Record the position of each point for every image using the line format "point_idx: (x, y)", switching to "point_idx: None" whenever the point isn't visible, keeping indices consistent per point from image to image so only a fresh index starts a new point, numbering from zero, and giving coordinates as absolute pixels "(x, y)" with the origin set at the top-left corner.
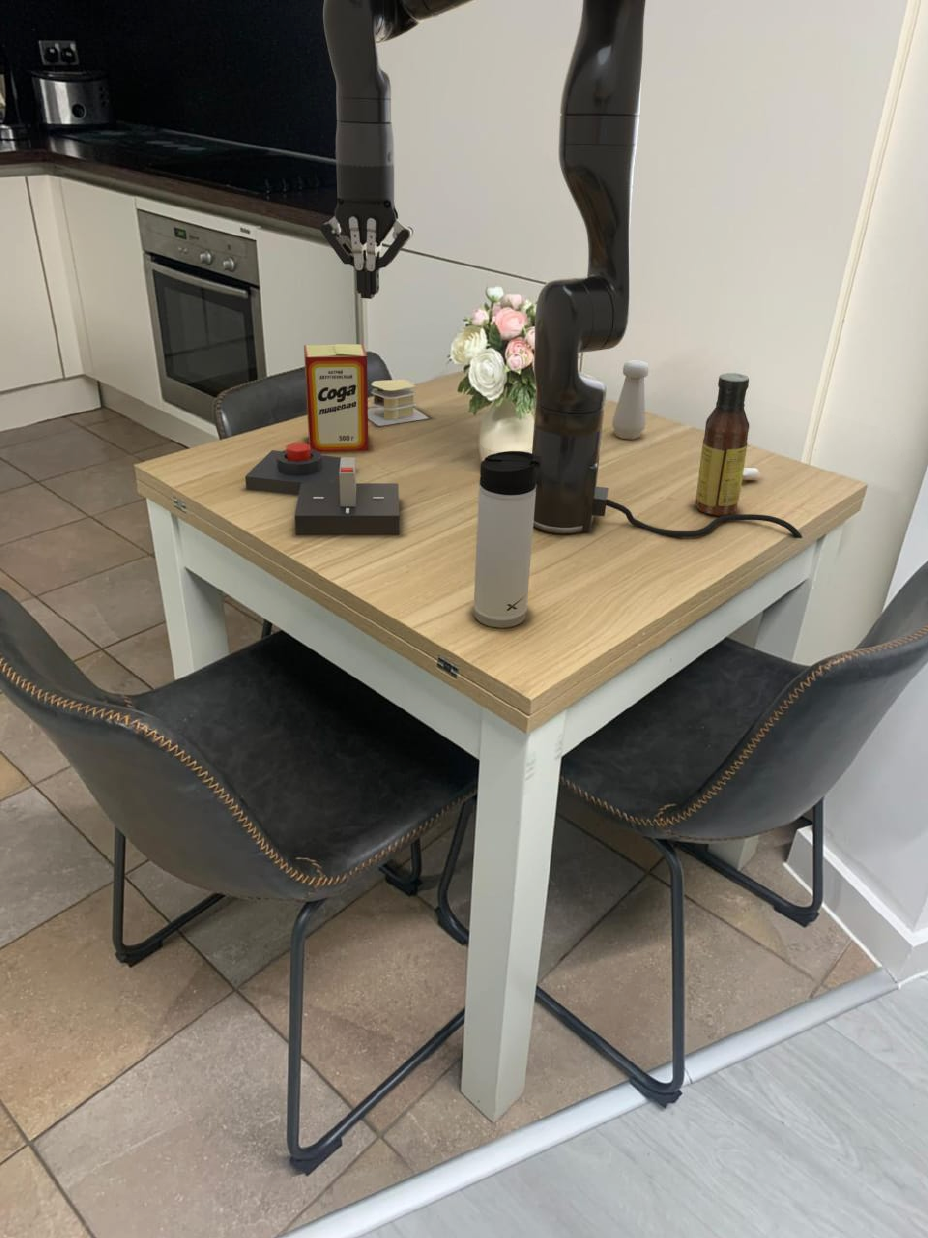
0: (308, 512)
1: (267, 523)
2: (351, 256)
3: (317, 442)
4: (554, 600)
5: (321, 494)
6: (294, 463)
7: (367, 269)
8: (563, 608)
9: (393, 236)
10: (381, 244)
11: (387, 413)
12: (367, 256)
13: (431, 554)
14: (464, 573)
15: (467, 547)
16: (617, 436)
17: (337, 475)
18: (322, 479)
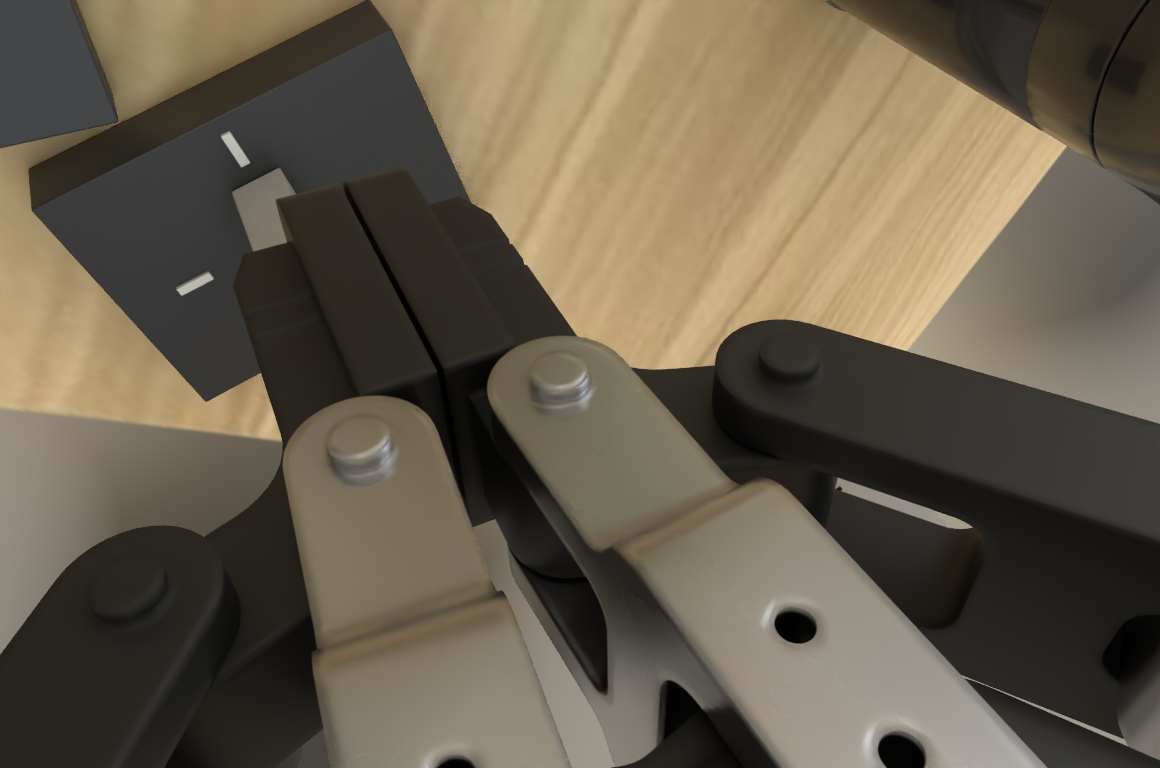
0: (231, 368)
1: (50, 348)
2: (296, 736)
3: None
4: (833, 289)
5: (181, 251)
6: None
7: (447, 445)
8: (846, 304)
9: (1135, 739)
10: (816, 538)
11: None
12: (581, 676)
13: (577, 258)
14: (665, 292)
15: (653, 183)
16: None
17: (73, 11)
18: (44, 83)
